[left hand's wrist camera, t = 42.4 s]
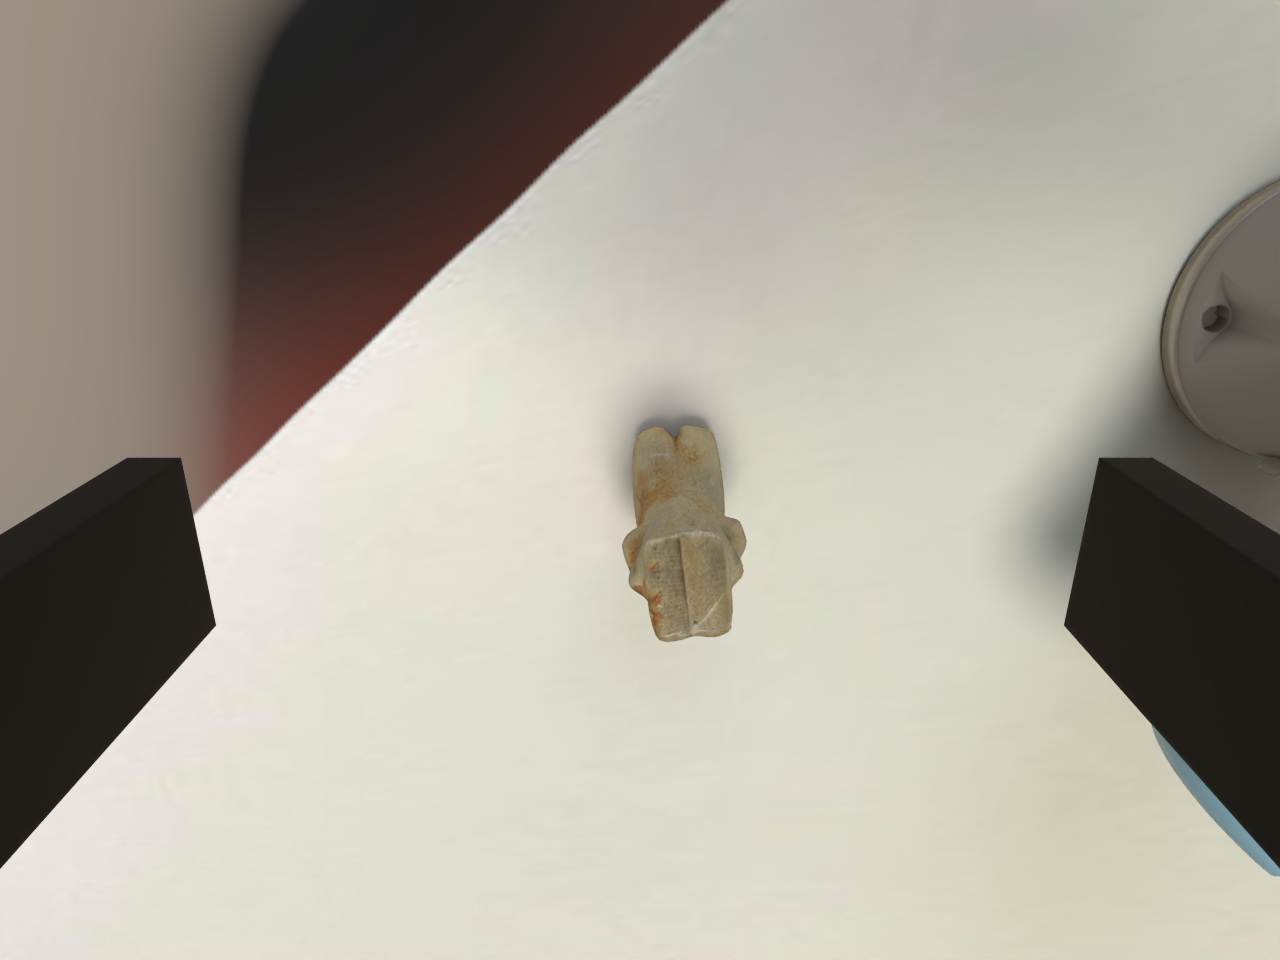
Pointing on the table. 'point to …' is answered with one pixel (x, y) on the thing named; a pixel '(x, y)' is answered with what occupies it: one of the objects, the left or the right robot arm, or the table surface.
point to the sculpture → (683, 535)
